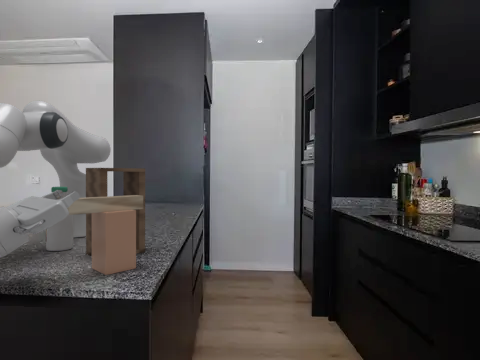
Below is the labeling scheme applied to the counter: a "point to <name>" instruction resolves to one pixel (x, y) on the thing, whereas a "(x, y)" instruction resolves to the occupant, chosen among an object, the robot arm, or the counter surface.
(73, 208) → the bar
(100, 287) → the counter surface
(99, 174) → the wooden open box
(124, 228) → the pedestal
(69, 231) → the milk bottle
